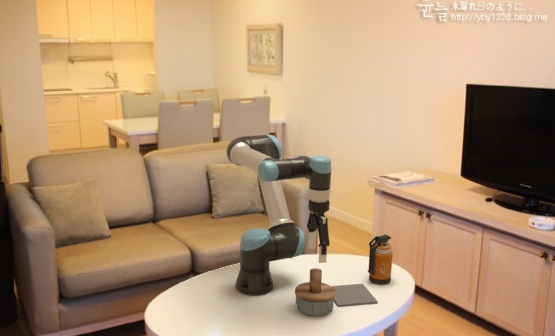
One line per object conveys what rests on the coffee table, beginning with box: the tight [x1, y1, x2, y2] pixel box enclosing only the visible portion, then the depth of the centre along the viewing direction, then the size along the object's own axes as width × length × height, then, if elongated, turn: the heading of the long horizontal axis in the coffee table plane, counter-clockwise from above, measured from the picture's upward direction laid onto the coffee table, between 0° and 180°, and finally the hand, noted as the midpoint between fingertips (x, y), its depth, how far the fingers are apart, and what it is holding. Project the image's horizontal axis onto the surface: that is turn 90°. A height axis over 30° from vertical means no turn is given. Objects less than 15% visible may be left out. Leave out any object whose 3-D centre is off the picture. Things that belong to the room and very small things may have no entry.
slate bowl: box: [295, 295, 335, 317], centre depth 211 cm, size 13×13×6 cm
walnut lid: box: [294, 267, 335, 303], centre depth 209 cm, size 15×15×9 cm
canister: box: [367, 234, 394, 285], centre depth 233 cm, size 9×11×20 cm
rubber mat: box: [330, 283, 379, 308], centre depth 221 cm, size 16×16×1 cm
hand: (316, 255), depth 206 cm, fingers open, 13 cm apart
